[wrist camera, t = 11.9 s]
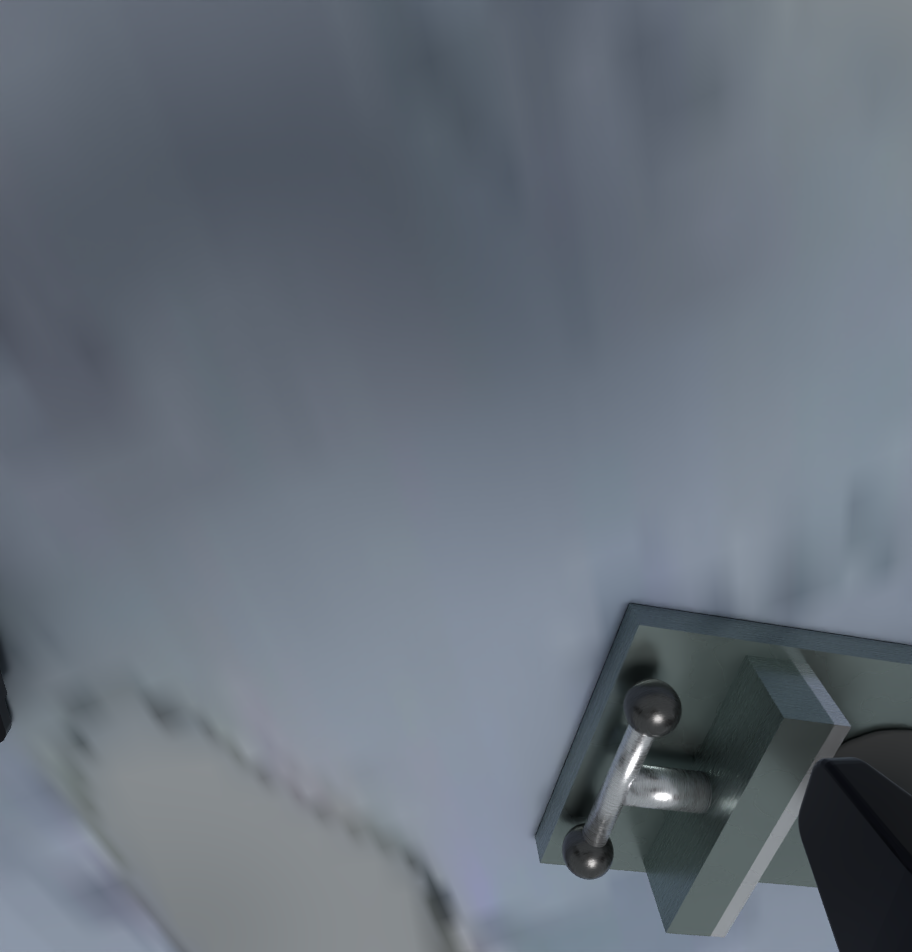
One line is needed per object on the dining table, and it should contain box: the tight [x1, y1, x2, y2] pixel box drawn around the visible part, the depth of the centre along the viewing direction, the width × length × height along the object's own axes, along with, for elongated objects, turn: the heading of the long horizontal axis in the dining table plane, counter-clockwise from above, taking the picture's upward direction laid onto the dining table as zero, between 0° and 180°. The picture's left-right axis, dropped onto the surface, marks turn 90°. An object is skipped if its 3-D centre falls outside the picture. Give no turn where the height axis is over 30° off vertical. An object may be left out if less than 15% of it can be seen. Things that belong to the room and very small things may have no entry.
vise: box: [535, 603, 912, 937], centre depth 25 cm, size 16×10×4 cm, turn 77°
